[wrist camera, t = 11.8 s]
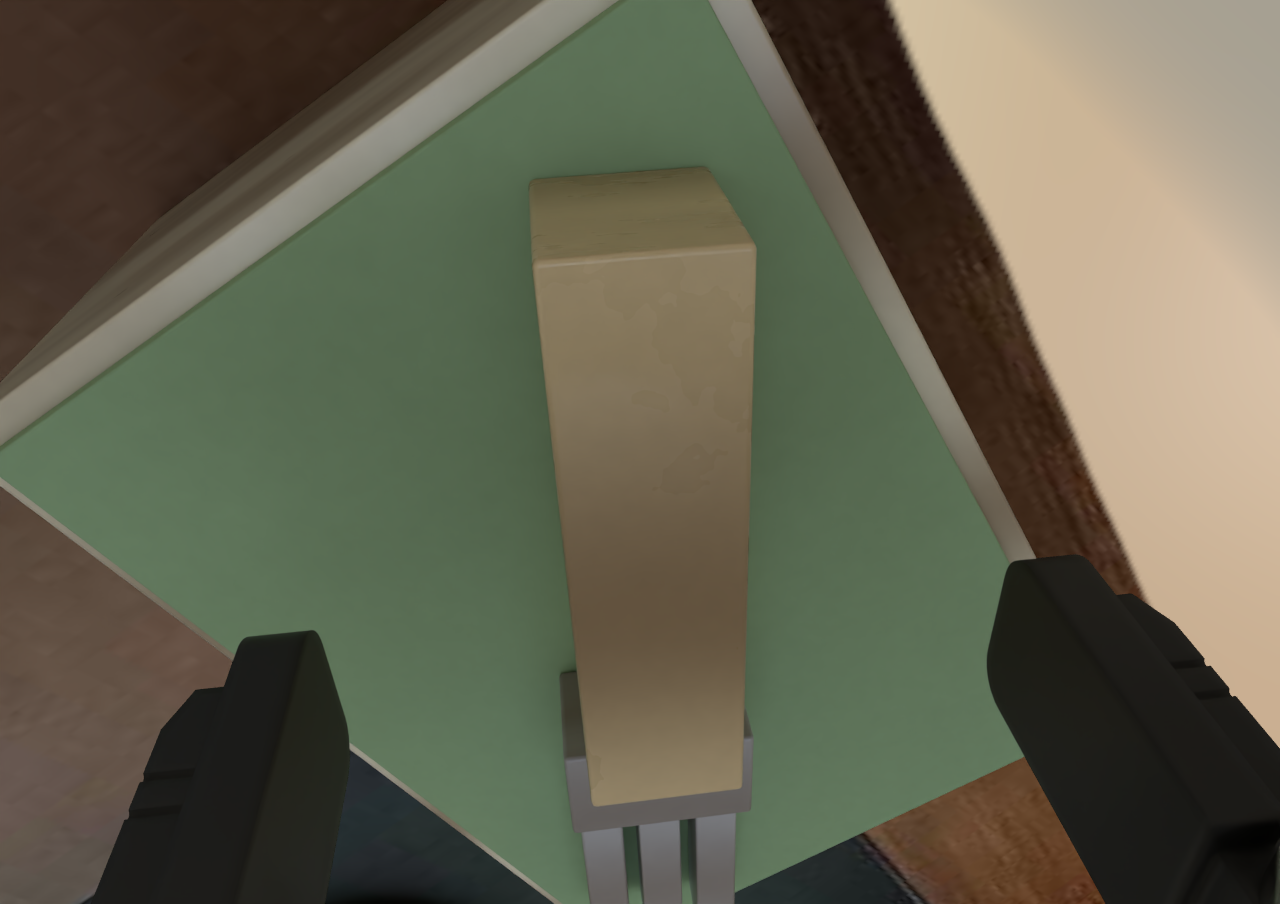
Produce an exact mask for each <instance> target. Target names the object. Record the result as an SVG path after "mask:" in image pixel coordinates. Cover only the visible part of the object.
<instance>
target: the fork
mask: <svg viewBox="0 0 1280 904" xmlns="http://www.w3.org/2000/svg"><path fill="white" fill-rule="evenodd" d="M528 187H529V210H530V233H531V256H532V271H533V281H534V290H535V299H536V308H537V317H538V326H539V335H540V344H541V353H542V362H543V371H544V380H545V389H546V398H547V407H548V416H549V425H550V434H551V443H552V452H553V461H554V470H555V479H556V488H557V497H558V506H559V515H560V524H561V533H562V542H563V552H564V561H565V570H566V579H567V588H568V597H569V606H570V615H571V624H572V633H573V642H574V651H575V660H576V669H577V672H568V673H562V674H561V675H560V677H559V684H560V702H561V720H562V738H563V757H564V766H565V774H566V781H567V789H568V797H569V804H570V812H571V820H572V827H573V830H574V832H575V833H581V836H582V844H583V852H584V860H585V868H586V876H587V885H588V893H589V901H590V904H629V896H628V884H627V872H626V860H625V848H624V836H623V827H630V826H636V836H637V850H638V864H639V878H640V891H641V899H642V904H682V876H681V843H680V820H686V819H688V857H689V885H690V891H691V897H692V903H693V904H734V893H735V846H736V813H741V812H748V811H750V810H751V801H752V772H753V744H754V736H753V733H752V729H751V725H750V722H749V718H748V714H747V710H746V707H745V672H746V634H747V597H748V559H749V521H750V484H751V446H752V408H753V371H754V333H755V295H756V258H757V248H756V245H755V243H754V241H753V240H752V238H751V237H750V235H749V233H748V232H747V230H746V228H745V227H744V225H743V223H742V222H741V220H740V219H739V217H738V215H737V214H736V212H735V210H734V209H733V207H732V206H731V204H730V202H729V201H728V199H727V197H726V196H725V194H724V192H723V191H722V189H721V188H720V186H719V184H718V183H717V181H716V179H715V178H714V176H713V175H712V173H711V171H710V170H709V168H707V167H690V168H677V169H664V170H651V171H637V172H624V173H611V174H598V175H585V176H571V177H558V178H545V179H534V180H532V181H530V183H529V186H528Z"/></svg>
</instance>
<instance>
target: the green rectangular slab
mask: <svg viewBox="0 0 1280 904" xmlns="http://www.w3.org/2000/svg"><path fill="white" fill-rule="evenodd" d="M690 167H707V168H709V170H710V171H711V173H712V175H713V176H714V178H715V179H716V181H717V183H718V184H719V186H720V188H721V189H722V191H723V192H724V194H725V196H726V197H727V199H728V201H729V202H730V204H731V206H732V207H733V209H734V210H735V212H736V214H737V215H738V217H739V219H740V220H741V222H742V223H743V225H744V227H745V228H746V230H747V232H748V233H749V235H750V237H751V238H752V240H753V241H754V243H755V245H756V248H757V258H756V295H755V333H754V371H753V408H752V446H751V484H750V521H749V559H748V597H747V634H746V672H745V707H746V710H747V714H748V718H749V722H750V725H751V729H752V733H753V736H754V744H753V772H752V801H751V810H750V811H748V812H741V813H736V846H735V892H737V891H739V890H741V889H743V888H745V887H747V886H749V885H752V884H754V883H756V882H758V881H760V880H762V879H764V878H767V877H769V876H771V875H773V874H775V873H777V872H779V871H781V870H784V869H786V868H788V867H790V866H792V865H794V864H796V863H799V862H801V861H803V860H805V859H807V858H809V857H811V856H813V855H816V854H818V853H820V852H822V851H824V850H826V849H828V848H830V847H833V846H835V845H837V844H839V843H841V842H843V841H845V840H848V839H850V838H852V837H854V836H856V835H858V834H860V833H862V832H865V831H867V830H869V829H871V828H873V827H875V826H877V825H880V824H882V823H884V822H886V821H888V820H890V819H892V818H894V817H897V816H899V815H901V814H903V813H905V812H907V811H909V810H912V809H914V808H916V807H918V806H920V805H922V804H924V803H926V802H929V801H931V800H933V799H935V798H937V797H939V796H941V795H944V794H946V793H948V792H950V791H952V790H954V789H956V788H958V787H961V786H963V785H965V784H967V783H969V782H971V781H973V780H975V779H978V778H980V777H982V776H984V775H986V774H988V773H990V772H993V771H995V770H997V769H999V768H1001V767H1003V766H1005V765H1007V764H1010V763H1012V762H1014V761H1016V760H1018V759H1020V758H1022V757H1025V756H1024V755H1023V753H1022V751H1021V749H1020V747H1019V746H1018V744H1017V742H1016V740H1015V738H1014V736H1013V735H1012V733H1011V731H1010V729H1009V727H1008V726H1007V724H1006V722H1005V720H1004V718H1003V717H1002V715H1001V713H1000V711H999V709H998V707H997V705H996V703H995V701H994V698H993V696H992V693H991V690H990V686H989V681H988V675H987V651H988V646H989V642H990V638H991V633H992V629H993V625H994V620H995V616H996V612H997V607H998V603H999V599H1000V594H1001V590H1002V586H1003V581H1004V577H1005V573H1006V570H1007V568H1008V566H1009V565H1010V562H1009V561H1008V559H1007V557H1006V555H1005V553H1004V551H1003V549H1002V548H1001V546H1000V544H999V542H998V540H997V538H996V536H995V534H994V533H993V531H992V529H991V527H990V525H989V523H988V521H987V520H986V518H985V516H984V514H983V512H982V510H981V508H980V506H979V505H978V503H977V501H976V499H975V497H974V495H973V493H972V492H971V490H970V488H969V486H968V484H967V482H966V480H965V479H964V477H963V475H962V473H961V471H960V469H959V467H958V465H957V464H956V462H955V460H954V458H953V456H952V454H951V452H950V451H949V449H948V447H947V445H946V443H945V441H944V439H943V437H942V436H941V434H940V432H939V430H938V428H937V426H936V424H935V423H934V421H933V419H932V417H931V415H930V413H929V411H928V409H927V408H926V406H925V404H924V402H923V400H922V398H921V396H920V395H919V393H918V391H917V389H916V387H915V385H914V383H913V381H912V380H911V378H910V376H909V374H908V372H907V370H906V368H905V367H904V365H903V363H902V361H901V359H900V357H899V355H898V353H897V352H896V350H895V348H894V346H893V344H892V342H891V340H890V339H889V337H888V335H887V333H886V331H885V329H884V327H883V325H882V324H881V322H880V320H879V318H878V316H877V314H876V312H875V311H874V309H873V307H872V305H871V303H870V301H869V299H868V297H867V296H866V294H865V292H864V290H863V288H862V286H861V284H860V283H859V281H858V279H857V277H856V275H855V273H854V271H853V269H852V268H851V266H850V264H849V262H848V260H847V258H846V256H845V255H844V253H843V251H842V249H841V247H840V245H839V243H838V241H837V240H836V238H835V236H834V234H833V232H832V230H831V228H830V227H829V225H828V223H827V221H826V219H825V217H824V215H823V213H822V212H821V210H820V208H819V206H818V204H817V202H816V200H815V199H814V197H813V195H812V193H811V191H810V189H809V187H808V185H807V184H806V182H805V180H804V178H803V176H802V174H801V172H800V171H799V169H798V167H797V165H796V163H795V161H794V159H793V157H792V156H791V154H790V152H789V150H788V148H787V146H786V144H785V143H784V141H783V139H782V137H781V135H780V133H779V131H778V129H777V128H776V126H775V124H774V122H773V120H772V118H771V116H770V115H769V113H768V111H767V109H766V107H765V105H764V103H763V102H762V100H761V98H760V96H759V94H758V92H757V90H756V88H755V87H754V85H753V83H752V81H751V79H750V77H749V75H748V74H747V72H746V70H745V68H744V66H743V64H742V62H741V60H740V59H739V57H738V55H737V53H736V51H735V49H734V47H733V46H732V44H731V42H730V40H729V38H728V36H727V34H726V32H725V31H724V29H723V27H722V25H721V23H720V21H719V19H718V18H717V16H716V14H715V12H714V10H713V8H712V6H711V4H710V3H709V1H708V0H618V1H617V2H616V3H614V4H613V5H611V6H610V7H609V8H607V9H606V10H605V11H603V12H602V13H600V14H599V15H598V16H596V17H595V18H593V19H592V20H591V21H589V22H588V23H586V24H585V25H584V26H582V27H581V28H580V29H578V30H577V31H575V32H574V33H573V34H571V35H570V36H568V37H567V38H566V39H564V40H563V41H561V42H560V43H559V44H557V45H556V46H555V47H553V48H552V49H550V50H549V51H548V52H546V53H545V54H543V55H542V56H541V57H539V58H538V59H537V60H535V61H534V62H532V63H531V64H530V65H528V66H527V67H525V68H524V69H523V70H521V71H520V72H518V73H517V74H516V75H514V76H513V77H512V78H510V79H509V80H507V81H506V82H505V83H503V84H502V85H500V86H499V87H498V88H496V89H495V90H494V91H492V92H491V93H489V94H488V95H487V96H485V97H484V98H482V99H481V100H480V101H478V102H477V103H475V104H474V105H473V106H471V107H470V108H469V109H467V110H466V111H464V112H463V113H462V114H460V115H459V116H457V117H456V118H455V119H453V120H452V121H451V122H449V123H448V124H446V125H445V126H444V127H442V128H441V129H439V130H438V131H437V132H435V133H434V134H432V135H431V136H430V137H428V138H427V139H426V140H424V141H423V142H421V143H420V144H419V145H417V146H416V147H414V148H413V149H412V150H410V151H409V152H407V153H406V154H405V155H403V156H402V157H401V158H399V159H398V160H396V161H395V162H394V163H392V164H391V165H389V166H388V167H387V168H385V169H384V170H383V171H381V172H380V173H378V174H377V175H376V176H374V177H373V178H371V179H370V180H369V181H367V182H366V183H364V184H363V185H362V186H360V187H359V188H358V189H356V190H355V191H353V192H352V193H351V194H349V195H348V196H346V197H345V198H344V199H342V200H341V201H340V202H338V203H337V204H335V205H334V206H333V207H331V208H330V209H328V210H327V211H326V212H324V213H323V214H321V215H320V216H319V217H317V218H316V219H315V220H313V221H312V222H310V223H309V224H308V225H306V226H305V227H303V228H302V229H301V230H299V231H298V232H297V233H295V234H294V235H292V236H291V237H290V238H288V239H287V240H285V241H284V242H283V243H281V244H280V245H278V246H277V247H276V248H274V249H273V250H272V251H270V252H269V253H267V254H266V255H265V256H263V257H262V258H260V259H259V260H258V261H256V262H255V263H253V264H252V265H251V266H249V267H248V268H247V269H245V270H244V271H242V272H241V273H240V274H238V275H237V276H235V277H234V278H233V279H231V280H230V281H229V282H227V283H226V284H224V285H223V286H222V287H220V288H219V289H217V290H216V291H215V292H213V293H212V294H210V295H209V296H208V297H206V298H205V299H204V300H202V301H201V302H199V303H198V304H197V305H195V306H194V307H192V308H191V309H190V310H188V311H187V312H186V313H184V314H183V315H181V316H180V317H179V318H177V319H176V320H174V321H173V322H172V323H170V324H169V325H167V326H166V327H165V328H163V329H162V330H161V331H159V332H158V333H156V334H155V335H154V336H152V337H151V338H149V339H148V340H147V341H145V342H144V343H143V344H141V345H140V346H138V347H137V348H136V349H134V350H133V351H131V352H130V353H129V354H127V355H126V356H124V357H123V358H122V359H120V360H119V361H118V362H116V363H115V364H113V365H112V366H111V367H109V368H108V369H106V370H105V371H104V372H102V373H101V374H100V375H98V376H97V377H95V378H94V379H93V380H91V381H90V382H88V383H87V384H86V385H84V386H83V387H81V388H80V389H79V390H77V391H76V392H75V393H73V394H72V395H70V396H69V397H68V398H66V399H65V400H63V401H62V402H61V403H59V404H58V405H56V406H55V407H54V408H52V409H51V410H50V411H48V412H47V413H45V414H44V415H43V416H41V417H40V418H38V419H37V420H36V421H34V422H33V423H32V424H30V425H29V426H27V427H26V428H25V429H23V430H22V431H20V432H19V433H18V434H16V435H15V436H13V437H12V438H11V439H9V440H8V441H7V442H5V443H4V444H2V445H1V446H0V477H1V478H2V479H3V480H5V481H6V482H7V483H9V484H10V485H11V486H13V487H14V488H15V489H17V490H18V491H19V492H20V493H22V494H23V495H24V496H26V497H27V498H28V499H30V500H31V501H32V502H34V503H35V504H36V505H38V506H39V507H40V508H42V509H43V510H44V511H45V512H47V513H48V514H49V515H51V516H52V517H53V518H55V519H56V520H57V521H59V522H60V523H61V524H63V525H64V526H65V527H67V528H68V529H69V530H71V531H72V532H73V533H74V534H76V535H77V536H78V537H80V538H81V539H82V540H84V541H85V542H86V543H88V544H89V545H90V546H92V547H93V548H94V549H96V550H97V551H98V552H100V553H101V554H102V555H103V556H105V557H106V558H107V559H109V560H110V561H111V562H113V563H114V564H115V565H117V566H118V567H119V568H121V569H122V570H123V571H125V572H126V573H127V574H128V575H130V576H131V577H132V578H134V579H135V580H136V581H138V582H139V583H140V584H142V585H143V586H144V587H146V588H147V589H148V590H150V591H151V592H152V593H154V594H155V595H156V596H157V597H159V598H160V599H161V600H163V601H164V602H165V603H167V604H168V605H169V606H171V607H172V608H173V609H175V610H176V611H177V612H179V613H180V614H181V615H183V616H184V617H185V618H186V619H188V620H189V621H190V622H192V623H193V624H194V625H196V626H197V627H198V628H200V629H201V630H202V631H204V632H205V633H206V634H208V635H209V636H210V637H212V638H213V639H214V640H215V641H217V642H218V643H219V644H221V645H222V646H223V647H225V648H226V649H227V650H229V651H230V652H231V653H233V654H234V655H235V654H236V651H237V648H238V646H239V644H240V642H241V641H242V640H243V639H244V638H245V637H249V636H259V635H269V634H279V633H288V632H298V631H308V630H314V631H316V632H317V633H318V635H319V636H320V638H321V641H322V644H323V647H324V650H325V653H326V657H327V660H328V663H329V666H330V669H331V673H332V676H333V679H334V682H335V686H336V689H337V692H338V695H339V698H340V702H341V705H342V708H343V711H344V715H345V718H346V722H347V727H348V733H349V742H350V743H351V744H352V745H354V746H355V747H356V748H358V749H359V750H360V751H362V752H363V753H364V754H366V755H367V756H368V757H370V758H371V759H372V760H374V761H375V762H376V763H378V764H379V765H380V766H381V767H383V768H384V769H385V770H387V771H388V772H389V773H391V774H392V775H393V776H395V777H396V778H397V779H399V780H400V781H401V782H403V783H404V784H405V785H406V786H408V787H409V788H410V789H412V790H413V791H414V792H416V793H417V794H418V795H420V796H421V797H422V798H424V799H425V800H426V801H428V802H429V803H430V804H432V805H433V806H434V807H435V808H437V809H438V810H439V811H441V812H442V813H443V814H445V815H446V816H447V817H449V818H450V819H451V820H453V821H454V822H455V823H457V824H458V825H459V826H461V827H462V828H463V829H464V830H466V831H467V832H468V833H470V834H471V835H472V836H474V837H475V838H476V839H478V840H479V841H480V842H482V843H483V844H484V845H486V846H487V847H488V848H489V849H491V850H492V851H493V852H495V853H496V854H497V855H499V856H500V857H501V858H503V859H504V860H505V861H507V862H508V863H509V864H511V865H512V866H513V867H515V868H516V869H517V870H518V871H520V872H521V873H522V874H524V875H525V876H526V877H528V878H529V879H530V880H532V881H533V882H534V883H536V884H537V885H538V886H540V887H541V888H542V889H544V890H545V891H546V892H547V893H549V894H550V895H551V896H553V897H554V898H555V899H557V900H558V901H559V902H561V903H562V904H590V901H589V893H588V885H587V876H586V868H585V860H584V852H583V844H582V836H581V833H575V832H574V830H573V827H572V820H571V812H570V804H569V797H568V789H567V781H566V774H565V766H564V757H563V738H562V720H561V702H560V684H559V677H560V675H561V674H562V673H568V672H577V669H576V660H575V651H574V642H573V633H572V624H571V615H570V606H569V597H568V588H567V579H566V570H565V561H564V552H563V542H562V533H561V524H560V515H559V506H558V497H557V488H556V479H555V470H554V461H553V452H552V443H551V434H550V425H549V416H548V407H547V398H546V389H545V380H544V371H543V362H542V353H541V344H540V335H539V326H538V317H537V308H536V299H535V290H534V281H533V271H532V256H531V233H530V210H529V187H528V186H529V183H530V181H532V180H534V179H545V178H558V177H571V176H585V175H598V174H611V173H624V172H637V171H651V170H664V169H677V168H690ZM623 836H624V848H625V860H626V872H627V884H628V896H629V904H642V899H641V891H640V878H639V864H638V850H637V836H636V826H630V827H623ZM680 843H681V876H682V904H693V903H692V897H691V891H690V885H689V857H688V819H686V820H680Z"/></svg>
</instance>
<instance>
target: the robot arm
mask: <svg viewBox="0 0 1280 904" xmlns="http://www.w3.org/2000/svg"><path fill="white" fill-rule="evenodd" d="M987 675H988V681H989V686H990V690H991V693H992V696H993V698H994V701H995V703H996V705H997V707H998V709H999V711H1000V713H1001V715H1002V717H1003V718H1004V720H1005V722H1006V724H1007V726H1008V727H1009V729H1010V731H1011V733H1012V735H1013V736H1014V738H1015V740H1016V742H1017V744H1018V746H1019V747H1020V749H1021V751H1022V753H1023V755H1024V756H1025V758H1026V760H1027V762H1028V764H1029V766H1030V767H1031V769H1032V771H1033V773H1034V775H1035V776H1036V778H1037V780H1038V782H1039V784H1040V785H1041V787H1042V789H1043V791H1044V793H1045V795H1046V796H1047V798H1048V800H1049V802H1050V804H1051V805H1052V807H1053V809H1054V811H1055V813H1056V815H1057V816H1058V818H1059V820H1060V822H1061V824H1062V825H1063V827H1064V829H1065V831H1066V833H1067V834H1068V836H1069V838H1070V840H1071V842H1072V844H1073V845H1074V847H1075V849H1076V851H1077V853H1078V854H1079V856H1080V858H1081V860H1082V862H1083V864H1084V865H1085V867H1086V869H1087V871H1088V873H1089V874H1090V876H1091V878H1092V880H1093V882H1094V883H1095V885H1096V887H1097V889H1098V891H1099V893H1100V894H1101V896H1102V898H1103V900H1104V902H1105V903H1106V904H1280V748H1279V747H1278V746H1277V745H1276V743H1275V742H1274V741H1273V740H1272V739H1271V738H1270V736H1269V735H1268V734H1267V733H1266V732H1265V730H1264V729H1263V728H1262V727H1261V726H1260V724H1259V723H1258V722H1257V721H1256V720H1255V718H1254V717H1253V716H1252V715H1251V714H1250V713H1249V711H1248V710H1247V709H1246V708H1245V706H1244V705H1243V704H1242V703H1241V702H1240V701H1239V699H1238V698H1237V697H1236V696H1233V697H1232V696H1231V695H1230V693H1229V687H1228V686H1227V685H1226V684H1225V683H1224V681H1223V680H1222V679H1221V678H1220V677H1219V675H1218V674H1217V673H1216V672H1215V671H1214V669H1213V668H1212V667H1211V666H1206V665H1205V662H1204V658H1203V656H1202V655H1201V654H1200V653H1199V651H1198V650H1197V649H1196V648H1195V647H1194V645H1193V644H1192V643H1191V642H1190V641H1189V639H1188V638H1187V637H1186V636H1185V635H1184V634H1183V632H1182V631H1181V630H1180V629H1179V628H1178V626H1176V624H1175V623H1174V622H1173V621H1171V620H1170V619H1168V618H1167V617H1165V616H1164V615H1162V614H1161V613H1159V612H1158V611H1156V610H1155V609H1153V608H1152V607H1151V606H1149V605H1148V604H1146V603H1145V602H1143V601H1142V600H1140V599H1139V598H1137V597H1136V596H1134V595H1133V594H1122V595H1116V594H1115V593H1114V592H1113V591H1112V589H1111V588H1110V587H1109V586H1108V584H1107V583H1106V582H1105V580H1104V579H1103V578H1102V577H1101V575H1100V574H1099V573H1098V572H1097V570H1096V569H1095V568H1094V567H1093V565H1092V564H1091V563H1090V562H1089V561H1088V560H1087V559H1086V558H1084V557H1083V556H1080V555H1076V554H1075V555H1065V556H1055V557H1045V558H1036V559H1026V560H1017V561H1013V562H1012V563H1011V564H1010V565H1009V566H1008V568H1007V570H1006V573H1005V577H1004V581H1003V586H1002V590H1001V594H1000V599H999V603H998V607H997V612H996V616H995V620H994V625H993V629H992V633H991V638H990V642H989V646H988V651H987ZM349 763H350V744H349V733H348V727H347V722H346V718H345V715H344V711H343V708H342V705H341V702H340V698H339V695H338V692H337V689H336V686H335V682H334V679H333V676H332V673H331V669H330V666H329V663H328V660H327V657H326V653H325V650H324V647H323V644H322V641H321V638H320V636H319V635H318V633H317V632H316V631H314V630H308V631H298V632H288V633H279V634H269V635H259V636H249V637H245V638H244V639H243V640H242V641H241V642H240V644H239V646H238V648H237V651H236V654H235V657H234V659H233V662H232V665H231V668H230V671H229V674H228V677H227V680H226V682H225V685H224V687H218V688H208V689H199V690H195V691H194V692H193V694H192V695H191V696H190V697H189V698H188V699H187V700H186V702H185V703H184V704H183V705H182V706H181V707H180V709H179V710H178V711H177V712H176V713H175V714H174V715H173V717H172V718H171V719H170V720H169V721H168V722H167V723H166V725H165V726H164V727H163V728H162V729H161V731H160V733H159V736H158V738H157V741H156V743H155V746H154V748H153V751H152V753H151V756H150V758H149V761H148V763H147V766H146V768H145V771H144V773H143V774H144V781H143V782H140V783H139V786H138V788H137V791H136V793H135V796H134V798H133V801H132V803H131V805H130V808H129V818H128V820H124V823H123V825H122V828H121V830H120V833H119V835H118V838H117V840H116V843H115V845H114V848H113V850H112V853H111V855H110V858H109V860H108V863H107V865H106V868H105V870H104V873H103V875H102V878H101V880H100V883H99V885H98V888H97V890H96V892H95V895H94V897H93V900H92V902H91V904H325V901H326V896H327V890H328V885H329V879H330V874H331V868H332V863H333V857H334V852H335V846H336V841H337V835H338V830H339V824H340V819H341V813H342V808H343V802H344V797H345V791H346V786H347V781H348V774H349Z"/></svg>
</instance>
